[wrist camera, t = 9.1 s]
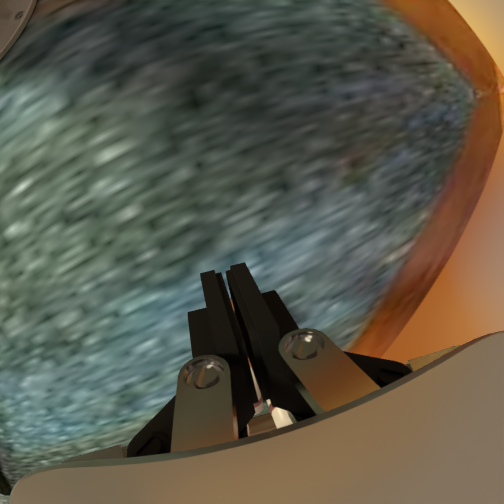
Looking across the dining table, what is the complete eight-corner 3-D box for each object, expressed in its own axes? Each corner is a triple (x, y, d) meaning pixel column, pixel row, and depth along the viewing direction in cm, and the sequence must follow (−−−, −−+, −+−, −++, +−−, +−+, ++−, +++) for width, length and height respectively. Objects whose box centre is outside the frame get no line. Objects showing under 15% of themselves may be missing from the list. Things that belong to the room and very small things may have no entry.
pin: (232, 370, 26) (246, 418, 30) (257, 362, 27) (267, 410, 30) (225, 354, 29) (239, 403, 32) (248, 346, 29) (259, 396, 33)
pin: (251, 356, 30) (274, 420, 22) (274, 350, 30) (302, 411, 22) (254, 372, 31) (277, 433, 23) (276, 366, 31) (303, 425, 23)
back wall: (206, 428, 33) (209, 443, 31) (303, 402, 35) (309, 416, 33) (210, 435, 34) (213, 450, 32) (303, 410, 36) (309, 423, 34)
